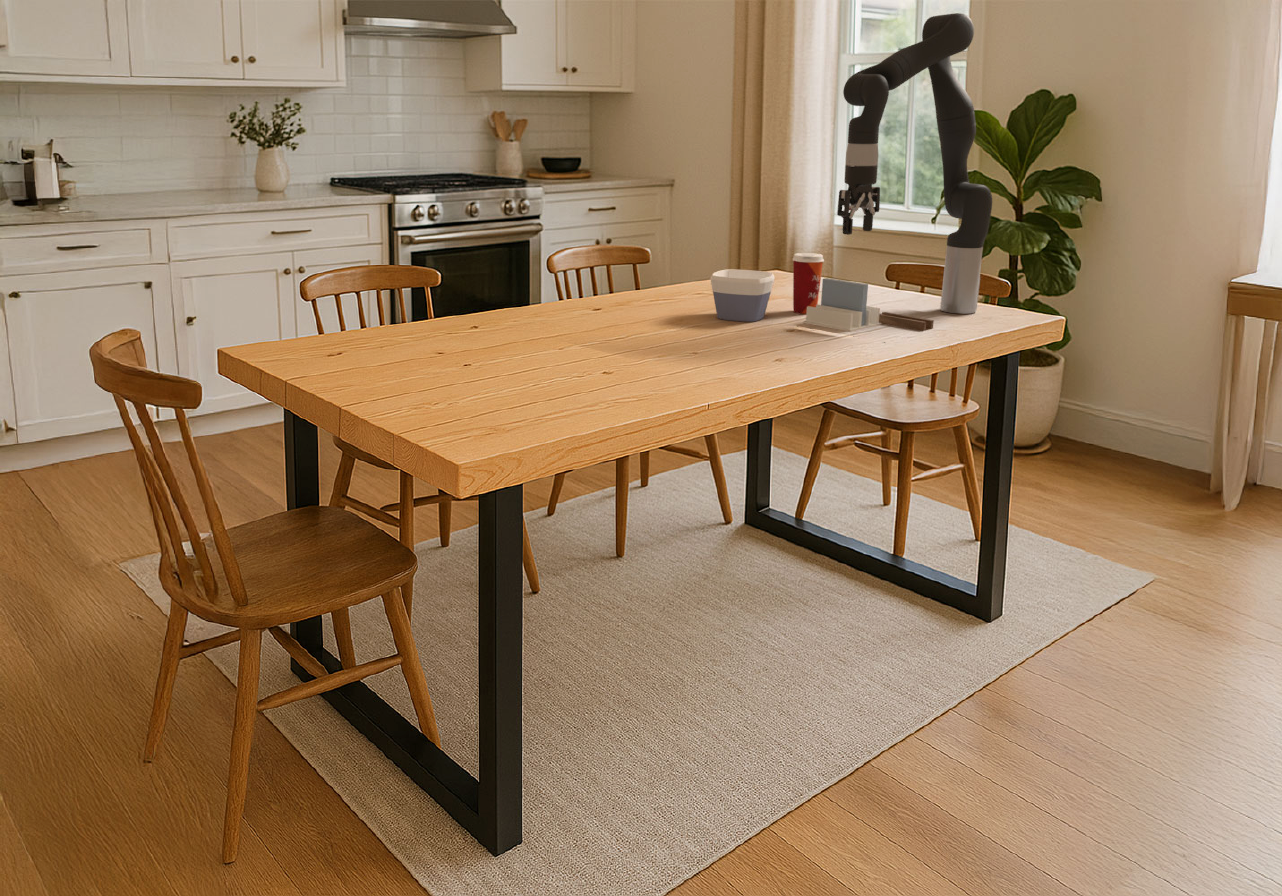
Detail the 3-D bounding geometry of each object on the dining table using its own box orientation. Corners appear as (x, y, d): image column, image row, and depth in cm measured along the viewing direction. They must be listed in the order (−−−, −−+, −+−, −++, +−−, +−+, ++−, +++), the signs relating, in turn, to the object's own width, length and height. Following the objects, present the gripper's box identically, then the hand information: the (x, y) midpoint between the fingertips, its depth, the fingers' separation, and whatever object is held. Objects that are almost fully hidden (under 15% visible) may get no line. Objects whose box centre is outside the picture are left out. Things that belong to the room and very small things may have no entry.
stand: (883, 322, 274) (884, 311, 273) (933, 331, 264) (934, 320, 263) (872, 325, 270) (873, 314, 269) (922, 334, 261) (923, 322, 260)
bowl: (702, 320, 273) (704, 275, 270) (721, 310, 287) (723, 267, 283) (761, 325, 268) (763, 280, 264) (778, 315, 281) (780, 272, 278)
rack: (833, 319, 277) (835, 300, 275) (880, 327, 268) (882, 308, 266) (803, 325, 268) (804, 306, 267) (850, 334, 259) (852, 314, 257)
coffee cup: (819, 315, 281) (823, 257, 277) (787, 313, 283) (791, 256, 278) (821, 309, 289) (825, 253, 284) (790, 308, 291) (793, 251, 286)
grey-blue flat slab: (824, 317, 272) (827, 277, 269) (864, 325, 264) (868, 284, 261) (819, 318, 271) (822, 278, 268) (860, 326, 263) (863, 284, 260)
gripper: (865, 161, 265) (860, 228, 270) (830, 164, 255) (827, 234, 260) (891, 162, 260) (886, 231, 265) (857, 165, 250) (853, 236, 255)
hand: (857, 232), depth 262 cm, fingers open, 8 cm apart
